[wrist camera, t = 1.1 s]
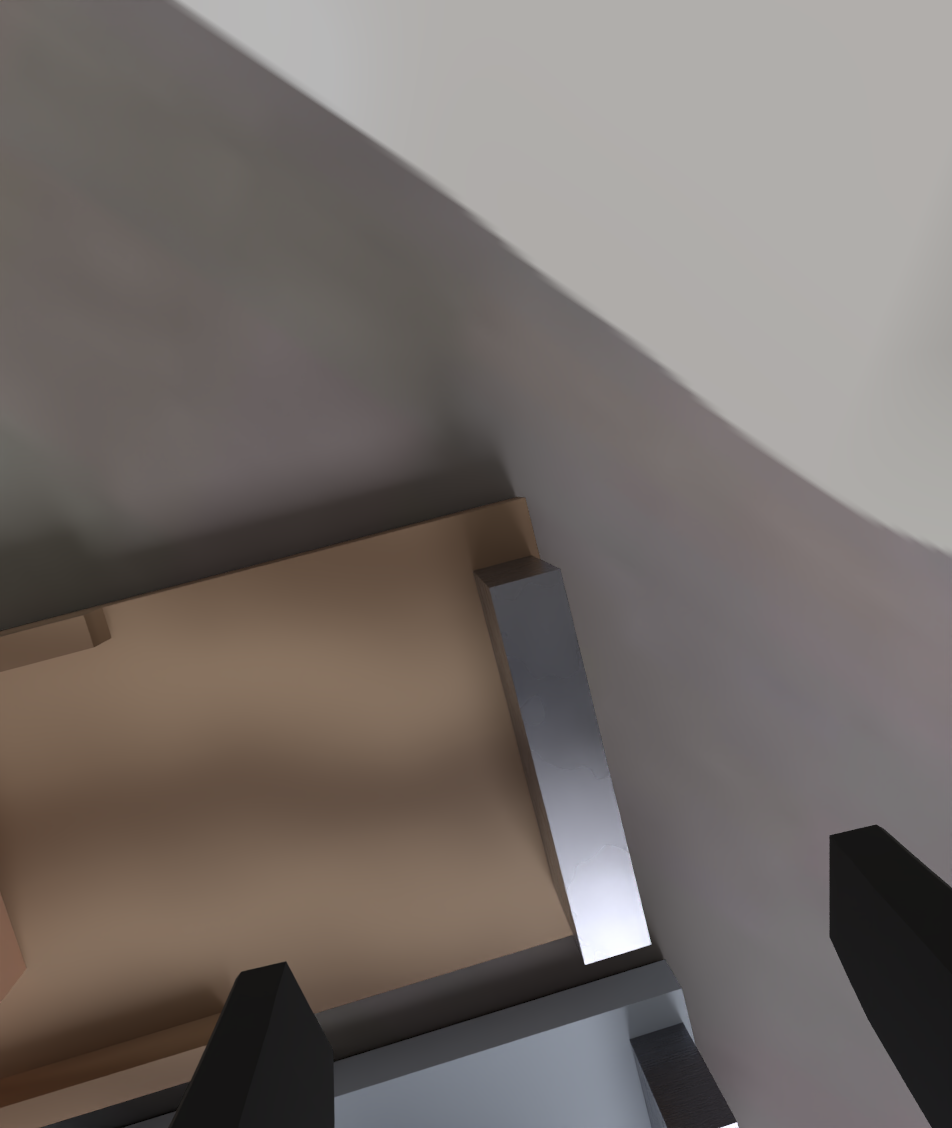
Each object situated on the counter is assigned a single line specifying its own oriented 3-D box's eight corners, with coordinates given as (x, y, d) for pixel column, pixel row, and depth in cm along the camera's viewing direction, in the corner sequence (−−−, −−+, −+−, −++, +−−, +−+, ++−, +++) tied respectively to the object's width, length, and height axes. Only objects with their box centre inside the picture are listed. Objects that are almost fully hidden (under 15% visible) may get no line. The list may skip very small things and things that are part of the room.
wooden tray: (614, 892, 24) (673, 1000, 19) (-150, 1123, 22) (-309, 1309, 17) (517, 497, 22) (552, 499, 17) (-308, 711, 20) (-532, 781, 15)
